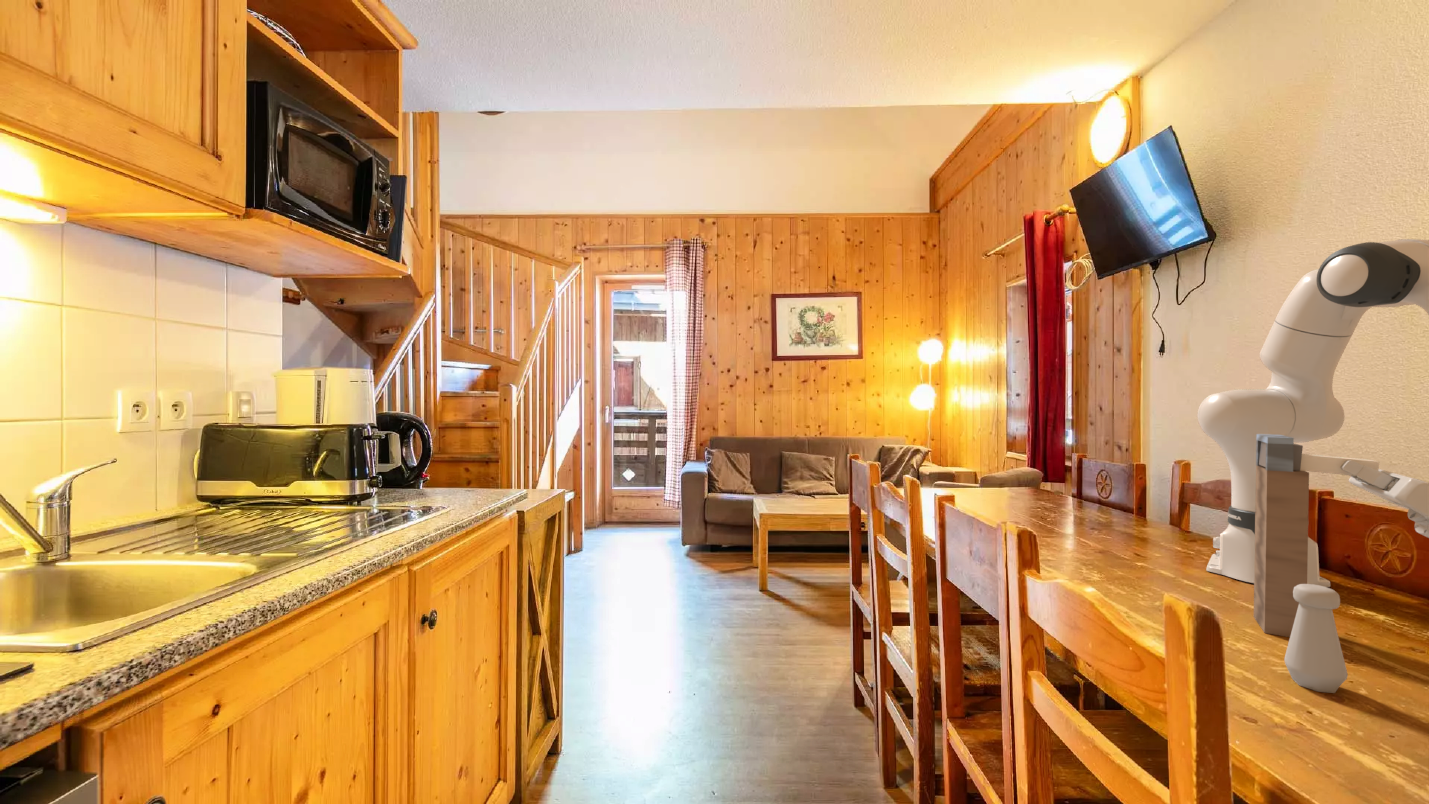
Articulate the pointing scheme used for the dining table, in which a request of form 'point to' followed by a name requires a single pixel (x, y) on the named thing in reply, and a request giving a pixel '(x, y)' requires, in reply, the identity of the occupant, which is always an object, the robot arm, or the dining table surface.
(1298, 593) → the salt shaker
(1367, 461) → the cream bar
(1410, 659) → the dining table surface
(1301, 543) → the post
